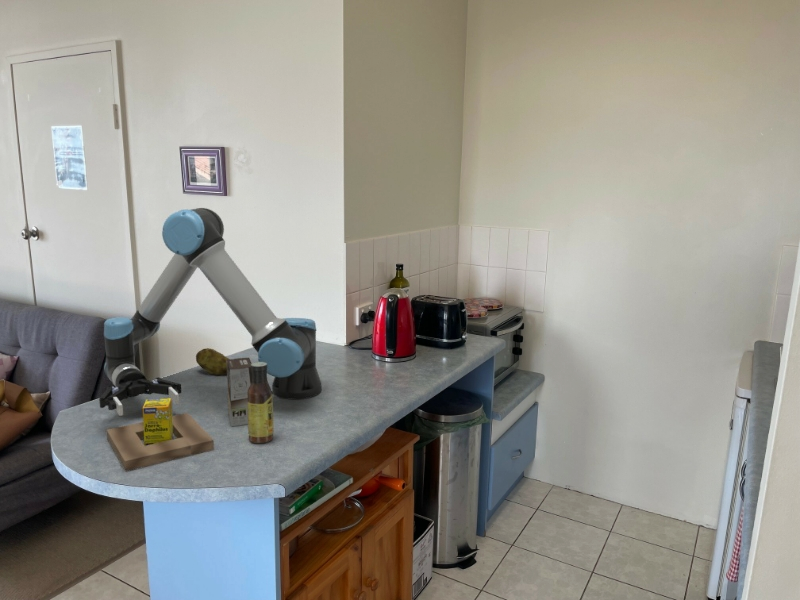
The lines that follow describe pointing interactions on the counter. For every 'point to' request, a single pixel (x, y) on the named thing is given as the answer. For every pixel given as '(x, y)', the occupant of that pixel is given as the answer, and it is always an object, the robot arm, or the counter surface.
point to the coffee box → (238, 389)
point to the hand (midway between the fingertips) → (150, 404)
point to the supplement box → (157, 421)
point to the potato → (212, 361)
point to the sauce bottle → (260, 405)
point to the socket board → (137, 455)
